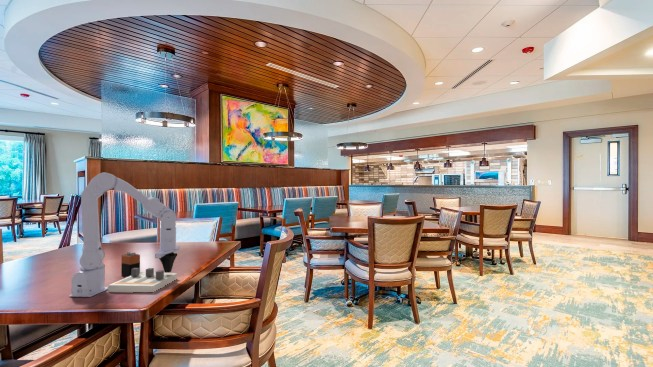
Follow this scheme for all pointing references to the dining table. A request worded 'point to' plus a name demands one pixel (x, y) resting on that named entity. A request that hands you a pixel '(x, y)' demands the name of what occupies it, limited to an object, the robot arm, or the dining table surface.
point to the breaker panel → (141, 283)
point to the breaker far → (135, 272)
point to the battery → (129, 263)
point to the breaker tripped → (160, 274)
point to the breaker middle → (149, 272)
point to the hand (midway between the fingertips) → (167, 271)
